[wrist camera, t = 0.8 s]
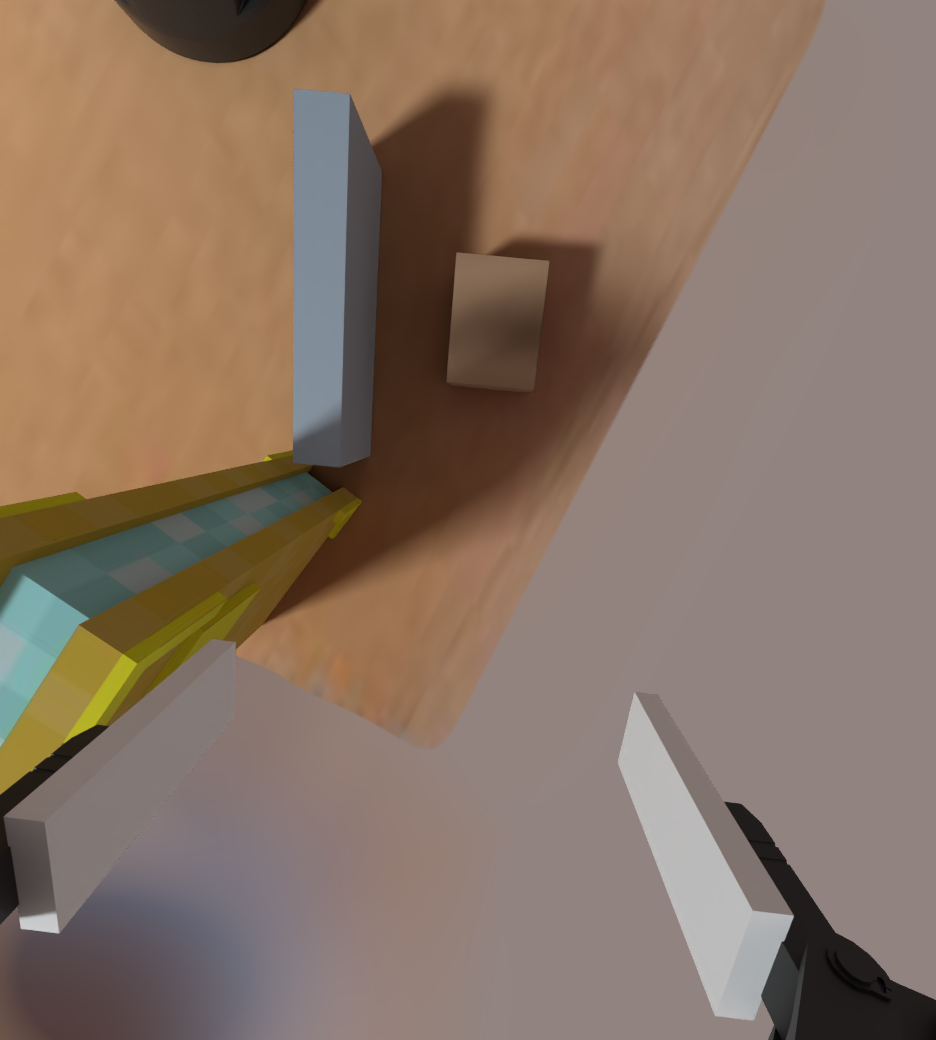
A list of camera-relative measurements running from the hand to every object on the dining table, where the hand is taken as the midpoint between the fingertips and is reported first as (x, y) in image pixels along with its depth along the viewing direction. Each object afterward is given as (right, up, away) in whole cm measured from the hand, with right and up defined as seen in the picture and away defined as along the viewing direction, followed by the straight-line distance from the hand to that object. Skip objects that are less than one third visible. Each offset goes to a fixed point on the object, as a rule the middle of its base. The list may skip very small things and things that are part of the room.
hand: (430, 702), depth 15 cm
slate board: (-7, +21, +19) cm, 29 cm away
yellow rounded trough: (-15, +3, +24) cm, 29 cm away
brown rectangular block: (+3, +20, +19) cm, 28 cm away
